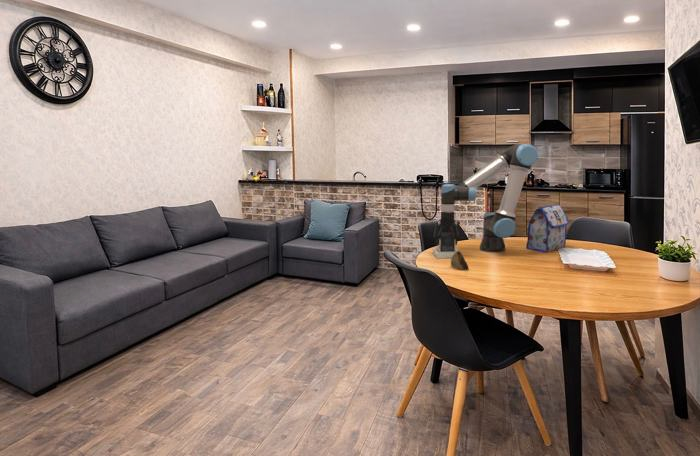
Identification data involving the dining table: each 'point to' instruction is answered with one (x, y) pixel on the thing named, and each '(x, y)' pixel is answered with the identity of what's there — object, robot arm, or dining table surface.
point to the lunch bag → (547, 229)
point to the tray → (444, 254)
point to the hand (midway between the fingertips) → (446, 250)
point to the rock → (459, 261)
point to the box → (447, 241)
